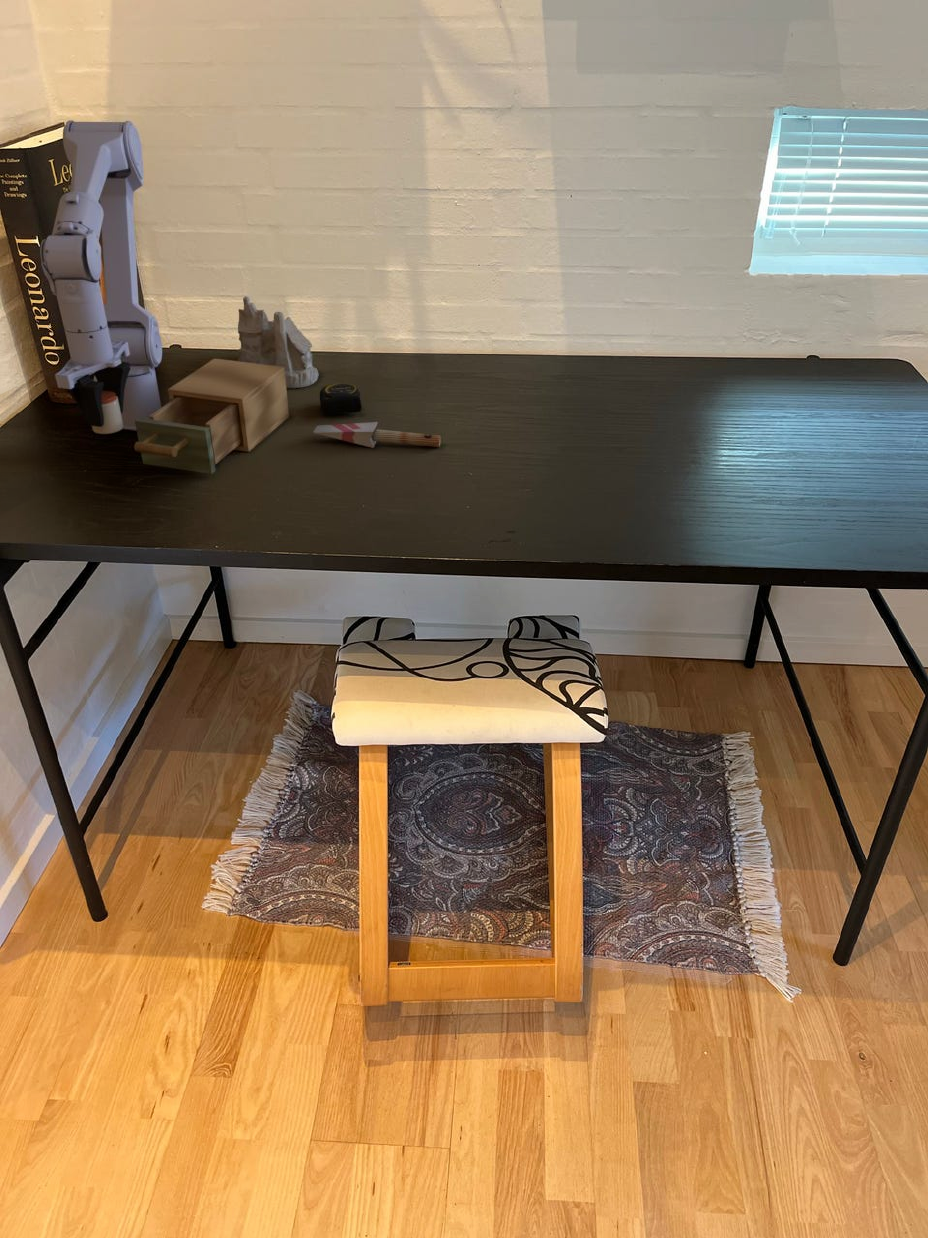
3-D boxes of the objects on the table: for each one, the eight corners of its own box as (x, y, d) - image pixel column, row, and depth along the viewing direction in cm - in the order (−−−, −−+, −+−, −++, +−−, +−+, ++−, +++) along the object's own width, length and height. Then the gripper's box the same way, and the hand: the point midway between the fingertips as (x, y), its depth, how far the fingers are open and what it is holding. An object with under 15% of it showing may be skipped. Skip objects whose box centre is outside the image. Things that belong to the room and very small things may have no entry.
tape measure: (320, 419, 158) (319, 397, 156) (320, 403, 163) (319, 382, 161) (362, 417, 159) (361, 396, 156) (360, 402, 164) (359, 381, 162)
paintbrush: (317, 415, 151) (442, 428, 150) (318, 431, 153) (441, 444, 151) (311, 424, 148) (438, 438, 146) (312, 441, 149) (437, 454, 148)
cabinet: (248, 452, 147) (242, 399, 142) (176, 441, 150) (167, 389, 145) (289, 416, 158) (284, 366, 154) (221, 407, 161) (214, 358, 156)
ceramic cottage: (300, 391, 167) (292, 303, 159) (220, 382, 172) (209, 296, 165) (341, 368, 180) (335, 285, 172) (265, 360, 185) (257, 279, 177)
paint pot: (86, 431, 139) (78, 399, 136) (103, 420, 142) (96, 388, 139) (112, 435, 138) (105, 402, 135) (129, 423, 141) (123, 391, 138)
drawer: (194, 488, 135) (187, 444, 131) (124, 477, 137) (114, 433, 133) (254, 437, 149) (249, 396, 145) (189, 428, 152) (182, 387, 148)
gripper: (79, 346, 125) (100, 441, 133) (140, 313, 136) (156, 403, 144) (33, 340, 126) (57, 435, 134) (97, 309, 138) (116, 398, 146)
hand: (106, 418), depth 139 cm, fingers closed on paint pot, 4 cm apart
